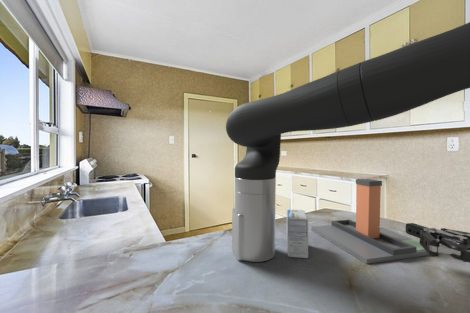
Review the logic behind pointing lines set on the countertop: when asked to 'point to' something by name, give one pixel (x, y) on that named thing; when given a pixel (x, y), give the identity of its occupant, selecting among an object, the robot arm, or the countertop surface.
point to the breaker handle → (368, 207)
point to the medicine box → (297, 234)
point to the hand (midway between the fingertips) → (408, 227)
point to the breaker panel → (370, 242)
